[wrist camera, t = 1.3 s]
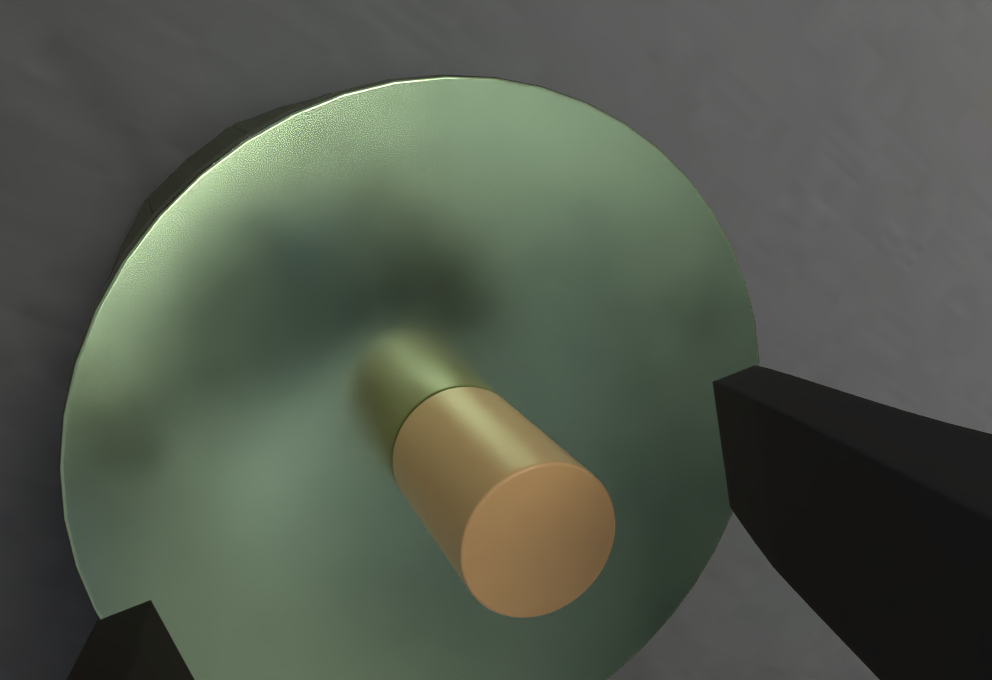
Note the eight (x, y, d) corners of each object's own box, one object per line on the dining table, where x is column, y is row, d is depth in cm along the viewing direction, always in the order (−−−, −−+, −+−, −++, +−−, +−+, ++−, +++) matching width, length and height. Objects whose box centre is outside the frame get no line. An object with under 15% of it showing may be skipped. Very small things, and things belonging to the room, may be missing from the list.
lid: (769, 560, 21) (928, 678, 17) (231, 841, 18) (267, 1071, 14) (662, -14, 17) (843, -42, 13) (-89, 221, 13) (-177, 290, 9)
